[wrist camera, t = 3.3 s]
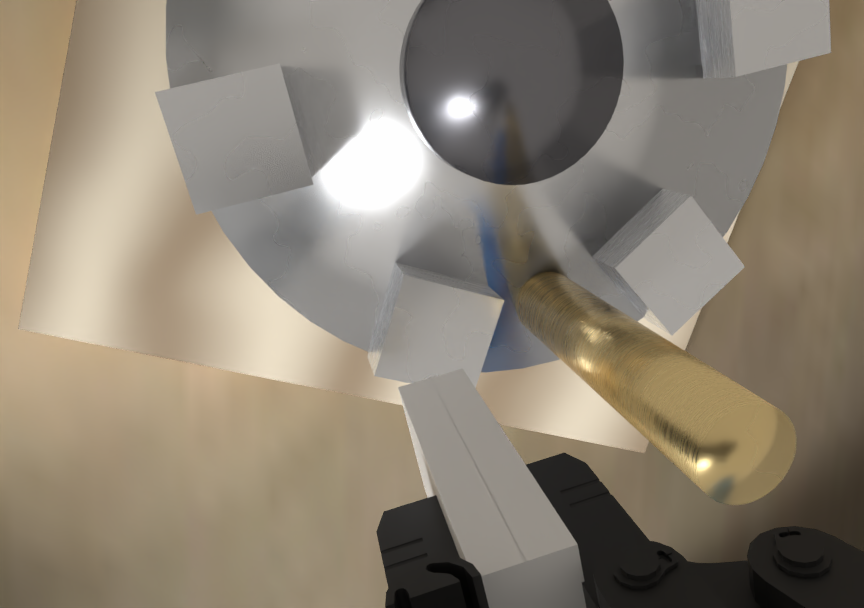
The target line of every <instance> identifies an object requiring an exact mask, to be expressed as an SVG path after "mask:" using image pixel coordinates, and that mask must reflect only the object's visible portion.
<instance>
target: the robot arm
mask: <svg viewBox="0 0 864 608" xmlns="http://www.w3.org/2000/svg"><path fill="white" fill-rule="evenodd" d="M398 389H399V393H400V397H401V400H402V404H403V408H404V412H405V416H406V419H407V423H408V427H409V431H410V435H411V438H412V442H413V446H414V450H415V453H416V457H417V461H418V465H419V469H420V472H421V476H422V480H423V484H424V488H425V491H426V494H427V497H428V498H426V499H423V500H419V501H416V502H413V503H410V504H407V505H403V506H400V507H397V508H394V509H391V510H388V511H384V513H383V516H382V518H381V521H380V524H379V526H378V529H377V536H378V541H379V546H380V550H381V554H382V560H383V564H384V568H385V574H386V578H387V583H388V588H389V589H388V590H387V592H386V604H385V607H386V608H864V552H862V551H860V550H858V549H856V548H855V547H853V546H851V545H849V544H847V543H845V542H844V541H842V540H840V539H838V538H836V537H834V536H832V535H829V534H826V533H824V532H821V531H819V530H816V529H810V528H803V527H796V526H793V527H781V528H774V529H772V530H769V531H767V532H764V533H761V534H760V535H759V536H757V537H756V538H755V539H754V540H753V541H752V542H751V543H750V546H749V550H748V555H747V558H748V561H738V562H725V563H694V562H688V561H687V560H686V559H685V558H684V557H683V556H682V555H680V554H679V553H678V552H677V551H675V550H674V549H673V548H671V547H669V546H666V545H663V544H660V543H658V542H654V541H649V539H648V538H647V537H646V536H645V535H644V533H643V532H642V531H641V530H640V528H639V527H638V526H637V525H636V524H635V522H634V521H633V520H632V519H631V518H630V516H629V515H628V514H627V513H626V511H625V510H624V509H623V508H622V507H621V505H620V504H619V503H618V502H617V500H616V499H615V498H614V497H613V496H612V495H610V493H609V491H608V489H607V488H606V487H605V486H604V485H603V483H602V482H600V481H599V479H598V477H597V476H596V475H595V474H594V472H593V471H592V470H591V469H590V468H589V466H588V465H587V464H586V463H585V462H583V461H581V460H578V459H576V458H574V457H572V456H570V455H568V454H566V453H562V454H559V455H556V456H552V457H549V458H546V459H543V460H540V461H537V462H533V463H530V464H527V465H525V463H524V462H523V460H522V459H521V457H520V456H519V454H518V452H517V451H516V449H515V448H514V446H513V445H512V443H511V442H510V440H509V439H508V437H507V436H506V434H505V433H504V431H503V430H502V428H501V426H500V425H499V423H498V422H497V420H496V419H495V417H494V416H493V414H492V413H491V411H490V410H489V408H488V407H487V405H486V404H485V402H484V401H483V399H482V397H481V396H480V394H479V393H478V391H477V390H476V388H475V387H474V385H473V384H472V382H471V381H470V379H469V378H468V376H467V375H466V373H465V371H464V370H463V368H462V369H459V370H455V371H452V372H448V373H445V374H442V375H438V376H435V377H431V378H428V379H425V380H421V381H418V382H414V383H411V384H408V385H404V386H401V387H398Z"/></svg>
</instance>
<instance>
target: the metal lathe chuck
mask: <svg viewBox="0 0 864 608" xmlns="http://www.w3.org/2000/svg"><path fill="white" fill-rule="evenodd" d="M828 53H831V38H830V11H829V0H167V3H166V62H167V70H168V77H169V85H170V89H166V90H162V91H158V92H155V94H156V97H157V100H158V103H159V106H160V109H161V112H162V115H163V118H164V121H165V124H166V127H167V130H168V133H169V136H170V139H171V142H172V145H173V148H174V151H175V154H176V156H177V159H178V162H179V165H180V168H181V171H182V174H183V177H184V180H185V183H186V186H187V189H188V192H189V195H190V198H191V201H192V204H193V207H194V210H195V213H196V215H197V214H201V213H205V212H209V211H212V213H213V215H214V216H215V218H216V220H217V222H218V223H219V225H220V227H221V229H222V231H223V232H224V234H225V235H226V236H227V238H228V239H229V240H230V242H231V243H232V244H233V246H234V247H235V248H236V250H237V251H238V252H239V254H240V255H241V256H242V258H243V259H244V260H245V262H246V263H247V264H248V266H249V267H250V268H251V269H252V270H253V271H254V272H255V273H256V274H257V275H258V276H259V277H260V278H261V279H262V280H263V281H264V282H265V283H266V284H267V285H268V286H269V287H270V288H271V289H272V290H273V291H274V292H275V293H276V295H277V296H279V297H280V298H281V299H282V300H284V301H285V302H286V303H287V304H289V305H290V306H291V307H292V308H294V309H295V310H296V311H298V312H299V313H300V314H301V315H303V316H304V317H305V318H306V319H308V320H309V321H310V322H312V323H314V324H315V325H317V326H319V327H320V328H322V329H324V330H325V331H327V332H329V333H330V334H332V335H334V336H336V337H337V338H339V339H341V340H342V341H344V342H346V343H349V344H351V345H353V346H356V347H358V348H360V349H363V350H365V351H367V352H368V356H367V357H368V360H369V363H370V365H371V368H372V371H373V374H374V376H376V377H381V378H386V379H391V380H396V381H401V382H405V383H410V384H411V383H414V382H418V381H421V380H425V379H428V378H431V377H435V376H438V375H442V374H445V373H448V372H452V371H455V370H459V369H462V368H463V370H464V371H465V373H466V375H467V376H468V378H469V379H470V381H471V382H472V384H473V385H474V387H475V388H476V385H477V382H478V379H479V376H480V373H481V372H495V371H505V370H514V369H523V368H527V367H531V366H535V365H539V364H544V363H548V362H552V361H556V360H559V359H561V360H562V361H563V362H564V363H565V364H566V365H567V366H568V367H569V368H570V369H571V370H572V371H574V372H575V373H576V374H577V375H578V376H579V377H580V378H581V379H582V380H583V381H584V382H585V383H587V384H588V385H589V386H590V387H591V388H592V389H593V390H594V391H595V392H596V393H597V394H598V395H600V396H601V397H602V398H603V399H604V400H605V401H606V402H607V403H608V404H609V405H610V406H611V407H613V408H614V409H615V410H616V411H617V412H618V413H619V414H620V415H621V416H622V417H623V418H625V419H626V420H627V421H628V422H629V423H630V424H631V425H632V426H633V427H634V428H635V429H636V430H638V431H639V432H640V433H641V434H642V435H643V436H644V437H645V438H646V439H647V440H648V441H649V442H651V443H652V444H653V445H654V446H655V447H656V448H657V449H658V450H659V451H660V452H661V453H662V454H664V455H665V456H666V457H667V458H668V459H669V460H670V461H671V462H672V463H673V464H674V465H675V466H677V467H678V468H679V469H680V470H681V471H682V472H683V473H684V474H685V475H686V476H687V477H689V478H690V479H691V480H692V481H693V482H694V483H695V484H696V485H697V486H698V487H699V488H700V489H702V490H703V491H704V492H705V493H706V494H707V495H708V496H709V497H710V498H712V499H713V500H715V501H717V502H719V503H723V504H727V505H741V504H746V503H750V502H753V501H755V500H758V499H759V498H761V497H763V496H765V495H766V494H768V493H769V492H770V491H772V490H773V489H774V488H775V487H776V486H777V485H778V484H779V483H780V482H781V481H782V479H783V478H784V477H785V475H786V474H787V472H788V471H789V469H790V467H791V465H792V462H793V459H794V456H795V452H796V432H795V429H794V426H793V424H792V422H791V420H790V419H789V417H788V416H787V415H786V414H785V413H784V412H782V411H781V410H779V409H778V408H776V407H775V406H773V405H771V404H770V403H768V402H767V401H765V400H763V399H762V398H760V397H758V396H757V395H755V394H754V393H752V392H750V391H749V390H747V389H746V388H744V387H742V386H741V385H739V384H738V383H736V382H734V381H733V380H731V379H729V378H728V377H726V376H725V375H723V374H721V373H720V372H718V371H717V370H715V369H713V368H712V367H710V366H709V365H707V364H705V363H704V362H702V361H700V360H699V359H697V358H696V357H694V356H692V355H691V354H689V353H688V352H686V351H684V350H683V349H681V348H680V347H678V346H676V345H675V344H673V343H672V342H670V341H668V340H667V339H665V338H663V337H662V336H660V335H659V334H657V333H655V332H654V331H652V330H651V329H649V328H647V327H646V326H644V325H643V324H641V323H639V322H638V321H639V320H640V319H642V318H643V317H644V318H645V319H646V320H647V321H649V322H650V323H652V324H654V325H655V326H657V327H658V328H660V329H662V330H663V331H665V332H667V333H668V334H670V335H673V334H674V333H675V332H676V331H678V330H679V329H680V328H681V327H682V326H683V325H684V324H685V323H686V322H687V321H688V320H689V319H690V318H691V317H692V316H693V315H694V314H695V313H697V312H698V311H699V310H700V309H701V308H702V307H703V306H704V305H705V304H706V303H707V302H708V301H709V300H710V299H711V298H712V297H713V296H714V295H716V294H717V293H718V292H719V291H720V290H721V289H722V288H723V287H724V286H725V285H726V284H727V283H728V282H729V281H730V280H731V279H732V278H733V277H735V276H736V275H737V274H738V273H739V272H740V271H741V270H742V269H743V268H744V267H745V266H744V265H743V264H742V262H741V261H740V260H739V258H738V257H737V256H736V254H735V253H734V252H733V250H732V249H731V248H730V246H729V245H728V244H727V242H726V241H725V240H724V238H723V237H724V235H725V234H726V233H727V231H728V230H729V228H730V227H731V225H732V223H733V221H734V220H735V218H736V216H737V215H738V213H739V211H740V210H741V208H742V206H743V205H744V203H745V201H746V200H747V198H748V196H749V194H750V191H751V189H752V187H753V185H754V183H755V180H756V178H757V176H758V174H759V172H760V170H761V167H762V165H763V163H764V160H765V157H766V154H767V151H768V148H769V145H770V142H771V139H772V136H773V133H774V130H775V127H776V124H777V119H778V115H779V110H780V106H781V101H782V97H783V92H784V88H785V80H786V71H787V64H789V63H793V62H796V61H800V60H804V59H808V58H812V57H816V56H820V55H824V54H828Z"/></svg>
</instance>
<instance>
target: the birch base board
mask: <svg viewBox="0 0 864 608" xmlns="http://www.w3.org/2000/svg"><path fill="white" fill-rule="evenodd" d="M166 3H167V0H77V1H76V7H75V12H74V18H73V23H72V29H71V35H70V40H69V46H68V52H67V57H66V63H65V69H64V74H63V80H62V85H61V91H60V97H59V102H58V108H57V114H56V119H55V125H54V130H53V136H52V142H51V147H50V153H49V159H48V164H47V170H46V175H45V181H44V187H43V192H42V198H41V204H40V209H39V215H38V220H37V226H36V232H35V237H34V243H33V249H32V254H31V260H30V266H29V271H28V277H27V282H26V288H25V294H24V299H23V305H22V311H21V316H20V322H19V327H18V329H20V330H25V331H30V332H35V333H40V334H45V335H50V336H55V337H60V338H66V339H71V340H76V341H81V342H86V343H91V344H96V345H101V346H106V347H111V348H116V349H121V350H126V351H131V352H136V353H141V354H146V355H151V356H157V357H162V358H167V359H172V360H177V361H182V362H187V363H192V364H197V365H202V366H207V367H212V368H217V369H222V370H227V371H232V372H237V373H242V374H248V375H253V376H258V377H263V378H268V379H273V380H278V381H283V382H288V383H293V384H298V385H303V386H308V387H313V388H318V389H323V390H328V391H333V392H339V393H344V394H349V395H354V396H359V397H364V398H369V399H374V400H379V401H384V402H389V403H394V404H399V405H403V404H402V400H401V397H400V393H399V389H398V387H401V386H404V385H408V384H410V383H405V382H401V381H396V380H391V379H386V378H381V377H376V376H374V374H373V371H372V368H371V365H370V363H369V360H368V357H367V356H368V352H367V351H365V350H363V349H360V348H358V347H356V346H353V345H351V344H349V343H346V342H344V341H342V340H341V339H339V338H337V337H336V336H334V335H332V334H330V333H329V332H327V331H325V330H324V329H322V328H320V327H319V326H317V325H315V324H314V323H312V322H310V321H309V320H308V319H306V318H305V317H304V316H303V315H301V314H300V313H299V312H298V311H296V310H295V309H294V308H292V307H291V306H290V305H289V304H287V303H286V302H285V301H284V300H282V299H281V298H280V297H279V296H277V295H276V293H275V292H274V291H273V290H272V289H271V288H270V287H269V286H268V285H267V284H266V283H265V282H264V281H263V280H262V279H261V278H260V277H259V276H258V275H257V274H256V273H255V272H254V271H253V270H252V269H251V268H250V267H249V266H248V264H247V263H246V262H245V260H244V259H243V258H242V256H241V255H240V254H239V252H238V251H237V250H236V248H235V247H234V246H233V244H232V243H231V242H230V240H229V239H228V238H227V236H226V235H225V234H224V232H223V231H222V229H221V227H220V225H219V223H218V222H217V220H216V218H215V216H214V215H213V213H212V211H209V212H205V213H201V214H197V215H196V213H195V210H194V207H193V204H192V201H191V198H190V195H189V192H188V189H187V186H186V183H185V180H184V177H183V174H182V171H181V168H180V165H179V162H178V159H177V156H176V154H175V151H174V148H173V145H172V142H171V139H170V136H169V133H168V130H167V127H166V124H165V121H164V118H163V115H162V112H161V109H160V106H159V103H158V100H157V97H156V94H155V92H158V91H162V90H166V89H170V85H169V77H168V70H167V62H166ZM798 62H799V61H796V62H793V63H789V64H787V71H786V80H785V88H784V92H783V97H782V101H781V105H782V103H783V100H784V98H785V95H786V93H787V90H788V88H789V85H790V82H791V80H792V77H793V75H794V72H795V70H796V67H797V65H798ZM780 108H781V106H780ZM739 212H740V211H739ZM738 214H739V213H738ZM737 217H738V215H737V216H736V218H735V220H734V221H733V223H732V225H731V227H730V228H729V230H728V231H727V233H726V234H725V235H724V237H723V238H724V240H725V241H726V242H728V240H729V237H730V235H731V232H732V230H733V227H734V224H735V222H736V219H737ZM700 311H701V309H700V310H699V311H698V312H697V313H695V314H694V315H693V316H692V317H691V318H690V319H689V320H688V321H687V322H686V323H685V324H684V325H683V326H682V327H681V328H680V329H679V330H678V331H676V332H675V333H674V334H673V335H670V334H668V333H667V332H665V331H663V330H662V329H660V328H658V327H657V326H655V325H654V324H652V323H650V322H649V321H647V320H646V319H645V318H644V317H643V318H642V319H640V320H639V321H638V322H639V323H641V324H643V325H644V326H646V327H647V328H649V329H651V330H652V331H654V332H655V333H657V334H659V335H660V336H662V337H663V338H665V339H667V340H668V341H670V342H672V343H673V344H675V345H676V346H678V347H680V348H681V349H683V350H684V351H685V349H686V346H687V344H688V341H689V339H690V336H691V334H692V331H693V328H694V326H695V323H696V321H697V318H698V316H699V313H700ZM476 390H477V391H478V393H479V394H480V396H481V397H482V399H483V401H484V402H485V404H486V405H487V407H488V408H489V410H490V411H491V413H492V414H493V416H494V417H495V419H496V420H497V422H498V423H499V424H500V425H505V426H510V427H515V428H521V429H526V430H531V431H536V432H541V433H546V434H551V435H556V436H561V437H566V438H571V439H576V440H581V441H586V442H591V443H596V444H601V445H606V446H612V447H617V448H622V449H627V450H632V451H637V452H642V453H645V450H646V448H647V445H648V443H649V441H648V440H647V439H646V438H645V437H644V436H643V435H642V434H641V433H640V432H639V431H638V430H636V429H635V428H634V427H633V426H632V425H631V424H630V423H629V422H628V421H627V420H626V419H625V418H623V417H622V416H621V415H620V414H619V413H618V412H617V411H616V410H615V409H614V408H613V407H611V406H610V405H609V404H608V403H607V402H606V401H605V400H604V399H603V398H602V397H601V396H600V395H598V394H597V393H596V392H595V391H594V390H593V389H592V388H591V387H590V386H589V385H588V384H587V383H585V382H584V381H583V380H582V379H581V378H580V377H579V376H578V375H577V374H576V373H575V372H574V371H572V370H571V369H570V368H569V367H568V366H567V365H566V364H565V363H564V362H563V361H562V360H561V359H559V360H556V361H552V362H548V363H544V364H539V365H535V366H531V367H527V368H523V369H514V370H505V371H495V372H481V373H480V376H479V379H478V382H477V385H476Z"/></svg>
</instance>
